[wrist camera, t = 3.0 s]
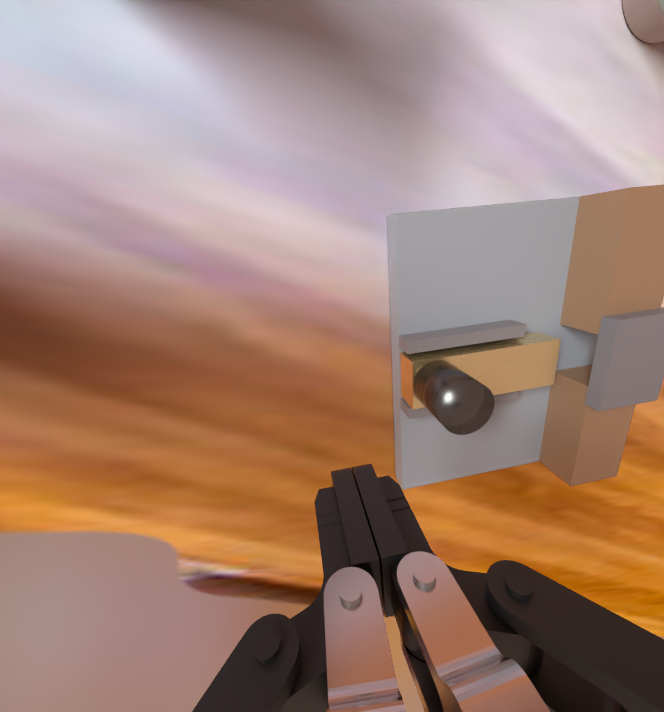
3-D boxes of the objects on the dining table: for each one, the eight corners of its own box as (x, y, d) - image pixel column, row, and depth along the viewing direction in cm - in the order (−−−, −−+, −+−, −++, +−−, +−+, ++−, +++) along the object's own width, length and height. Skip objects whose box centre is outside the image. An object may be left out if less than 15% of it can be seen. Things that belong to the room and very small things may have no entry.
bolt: (401, 395, 22) (439, 441, 16) (400, 352, 21) (441, 386, 15) (531, 373, 23) (604, 409, 18) (536, 331, 22) (616, 356, 17)
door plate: (395, 476, 26) (425, 532, 21) (387, 216, 19) (427, 204, 14) (567, 441, 28) (632, 484, 23) (613, 195, 21) (720, 177, 16)
